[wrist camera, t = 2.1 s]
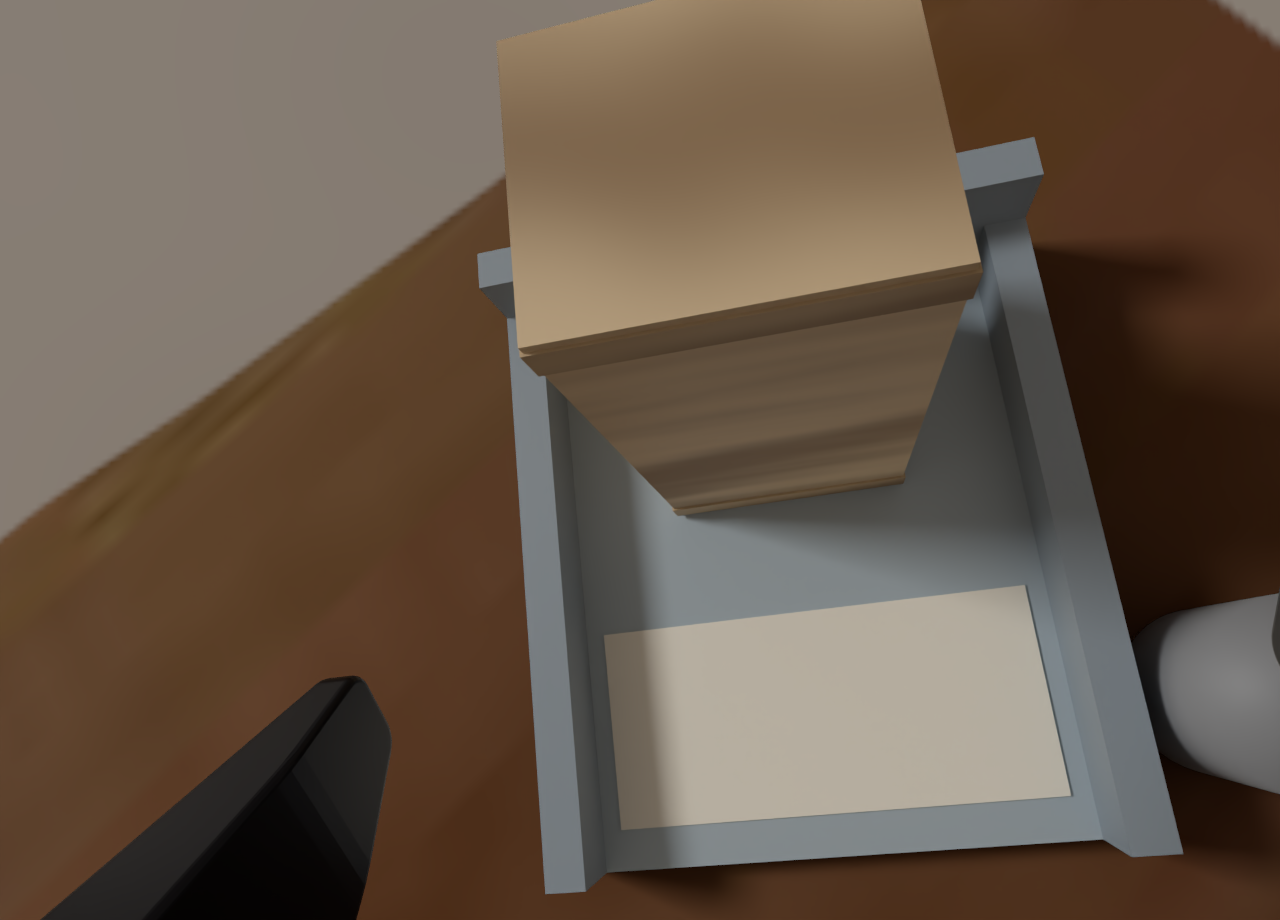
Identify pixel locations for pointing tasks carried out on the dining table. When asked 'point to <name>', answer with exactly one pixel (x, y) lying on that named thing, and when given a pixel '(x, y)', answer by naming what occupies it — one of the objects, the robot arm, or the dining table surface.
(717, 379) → the tan wooden block
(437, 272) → the dining table surface
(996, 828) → the bay
